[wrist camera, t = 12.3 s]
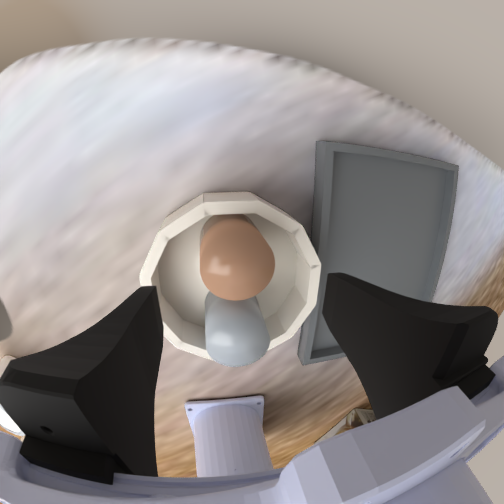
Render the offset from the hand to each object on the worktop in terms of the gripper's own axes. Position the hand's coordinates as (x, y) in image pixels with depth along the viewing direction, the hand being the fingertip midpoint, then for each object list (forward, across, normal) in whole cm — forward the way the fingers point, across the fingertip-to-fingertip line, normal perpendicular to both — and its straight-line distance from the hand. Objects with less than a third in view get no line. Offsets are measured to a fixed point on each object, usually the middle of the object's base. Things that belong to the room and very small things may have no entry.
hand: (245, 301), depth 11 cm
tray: (+8, -13, +2) cm, 15 cm away
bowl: (+8, 0, +2) cm, 8 cm away
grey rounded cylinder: (+7, 0, +5) cm, 9 cm away
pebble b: (+7, 0, 0) cm, 7 cm away
